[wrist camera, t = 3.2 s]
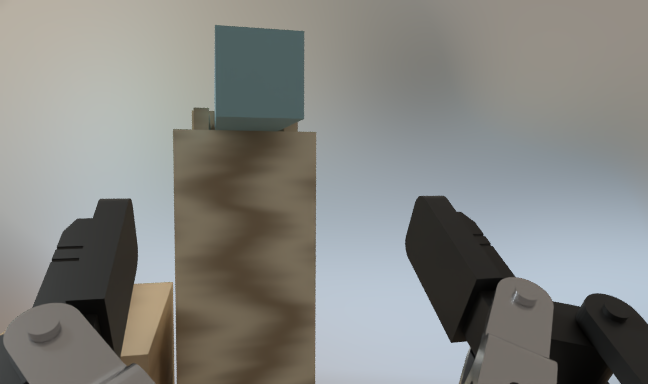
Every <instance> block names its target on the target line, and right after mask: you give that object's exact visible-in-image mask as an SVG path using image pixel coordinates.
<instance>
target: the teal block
mask: <svg viewBox="0 0 648 384" xmlns="http://www.w3.org/2000/svg"><path fill="white" fill-rule="evenodd" d="M303 119H304V31H293V30H278V29H264V28H248V27H235V26H220V25H215V130H238V131H279V130H282V129H284V128H286V127H288V126H290V125H292V124H294V123H296V122H298V121H300V120H303Z"/></svg>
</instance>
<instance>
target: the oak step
mask: <svg viewBox="0 0 648 384" xmlns="http://www.w3.org/2000/svg"><path fill="white" fill-rule="evenodd" d="M173 326H174V324H173V282H164V283H144V284H134V286H133V291H132V297H131V302H130V308H129V313H128V319H127V324H126V330H125V335H124V341H123V346H122V352H121V357H120V359H121V361H122V362H123V363H124V364H125V365H127V366H129V365H130V364H132V363H135V364H137V365H139V366H140V367H141V368H142V369H143V370H144V371H145V372H146V373H147V374H148V375H149V376H150V378H151V379H152V380H153V381H154V382H155V383H156V384H174V329H173V328H174V327H173ZM5 331H6V330H5ZM5 331H4V332H3V333H1V334H0V335H2V334H4V333H5Z"/></svg>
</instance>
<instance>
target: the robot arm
mask: <svg viewBox="0 0 648 384" xmlns="http://www.w3.org/2000/svg"><path fill="white" fill-rule="evenodd" d="M405 245H406V252H407V256H408V258H409V260H410V262H411V264H412V266H413V268H414V270H415V272H416V274H417V276H418V278H419V280H420V282H421V284H422V286H423V288H424V290H425V292H426V294H427V296H428V298H429V300H430V302H431V304H432V306H433V308H434V310H435V312H436V314H437V316H438V318H439V320H440V322H441V324H442V326H443V328H444V330H445V331H446V334H447V335H448V338H449V339H450V342H451V343H453V342H464V341H467V342H468V344H469V345H470V349H469V351H468V353H467V356H466V360H465V364H464V367H463V370H462V374H461V378H460V382H459V384H609V383H608V380H609V379H610V377H611V376H612V374H613V373H614V375H615V376H616V377H617V379H618V380H619V382H620V383H621V384H648V324H647V323H646V322H645V320H644V319H643V318H642V317H641V316H640V315H639V314H638V313H637V312H636V311H635V310H634V309H633V308H632V307H631V306H629V305H628V304H627V303H625V302H623V301H622V300H620V299H617V298H615V297H613V296H609V295H606V294H598V293H597V294H591V295H589V296H587V297H586V299H585V300H584V302H583V304H582V305H581V307H579V306H574V305H569V304H564V303H559V302H553V301H552V299H551V297H550V296H549V295H548V293H547V292H546V291H545V290H543V289H542V288H541V287H540V286H538V285H537V284H535V283H533V282H531V281H528V280H526V279H522V278H516V277H515V276H514V274H513V273H512V272H511V270H510V269H509V268H508V266H507V265H506V264H505V262H504V261H503V260H502V258H501V257H500V256H499V254H498V253H497V251H496V250H495V249H494V247H493V246H491V245H490V242H489V241H488V239H487V238H486V237H485V236H483V233H482V231H481V230H480V229H479V227H478V226H477V225H476V223H475V222H474V221H473V220H471V219H470V218H468V217H467V216H466V215H464V214H463V213H462V212H456V210H455V209H454V208H453V206H452V205H451V203H450V202H449V201H448V199H447V198H446V197H445V196H419V197H418V198H417V200H416V202H415V205H414V209H413V213H412V217H411V220H410V224H409V227H408V231H407V235H406V240H405ZM137 261H138V246H137V237H136V229H135V221H134V213H133V205H132V200H131V199H100V200H99V201H98V204H97V207H96V210H95V213H94V216H93V218H87V219H76V220H75V221H74V222H73V223H72V224H71V225H70V226H69V227H68V228H66V230H64V231H63V233H62V235H61V238H60V240H59V243H58V245H57V250H55V253H54V255H53V258H52V262H51V263H50V265H49V268H48V270H47V273H46V275H45V277H44V280H43V283H42V285H41V287H40V290H39V292H38V295H37V297H36V300H35V302H34V305H33V307H32V308H31V309H29V310H27V311H25V312H23V313H22V314H21V315H19V316H17V317H16V318H15V319H14V320H13V321H12V322H11V323H10V324H9V326H8V327H7V329H6V331H5V333H4V334H2V335H0V384H156V383H155V382H154V381H153V380H152V379H151V378H150V376H149V375H148V374H147V373H146V372H145V371H144V370H143V369H142V368H141V367H140V366H139V365H137V364H135V363H132V364H130V365H129V366H127V365H125V364H124V363H123V362H122V361H121V359H120V357H121V352H122V346H123V341H124V335H125V330H126V324H127V319H128V313H129V308H130V302H131V297H132V291H133V286H134V280H135V275H136V270H137Z"/></svg>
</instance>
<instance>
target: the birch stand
mask: <svg viewBox="0 0 648 384" xmlns="http://www.w3.org/2000/svg"><path fill="white" fill-rule="evenodd" d="M297 129H298V122H296V123H294V124H292V125H290V126H288V127H286V128H284V129H282V130H279V131H238V130H215V111H209V108H194V111H192V130H188V129H173V153H174V218H175V219H174V221H175V222H174V223H175V285H176V286H175V287H176V288H175V290H176V360H177V384H315V274H316V272H315V271H316V270H315V269H316V268H315V267H316V265H315V262H316V254H315V252H316V249H315V248H316V132H298V131H297Z"/></svg>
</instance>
